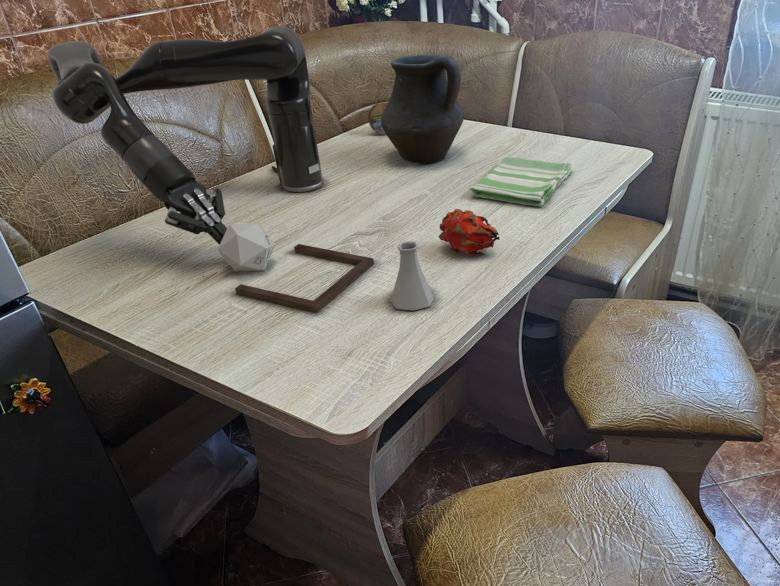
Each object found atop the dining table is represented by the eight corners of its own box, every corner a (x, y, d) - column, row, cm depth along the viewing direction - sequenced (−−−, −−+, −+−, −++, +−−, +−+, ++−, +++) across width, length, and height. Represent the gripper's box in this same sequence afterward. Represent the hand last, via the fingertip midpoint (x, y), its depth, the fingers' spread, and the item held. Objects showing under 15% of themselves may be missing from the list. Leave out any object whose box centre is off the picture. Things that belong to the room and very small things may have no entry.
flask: (390, 290, 107) (384, 236, 101) (433, 288, 107) (430, 234, 101) (390, 313, 101) (383, 257, 95) (435, 310, 101) (431, 254, 96)
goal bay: (236, 294, 107) (234, 288, 106) (299, 249, 120) (298, 243, 120) (317, 313, 102) (316, 306, 101) (374, 264, 115) (373, 258, 114)
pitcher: (420, 140, 173) (413, 41, 159) (485, 154, 163) (484, 49, 148) (368, 162, 160) (356, 55, 145) (436, 178, 149) (430, 65, 135)
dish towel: (573, 172, 150) (574, 161, 149) (543, 209, 133) (544, 196, 132) (503, 163, 156) (503, 152, 155) (466, 198, 139) (465, 186, 138)
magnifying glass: (372, 137, 177) (369, 105, 172) (368, 134, 179) (365, 103, 174) (421, 128, 183) (419, 98, 178) (416, 125, 185) (414, 95, 180)
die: (250, 287, 110) (274, 237, 108) (203, 261, 109) (227, 210, 107) (265, 280, 119) (288, 233, 116) (221, 256, 117) (244, 208, 115)
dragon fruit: (438, 250, 122) (495, 269, 119) (423, 241, 114) (483, 262, 111) (453, 208, 122) (510, 226, 118) (439, 196, 113) (500, 216, 110)
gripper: (179, 169, 118) (245, 239, 121) (122, 194, 109) (195, 269, 112) (193, 143, 114) (261, 217, 116) (134, 167, 104) (211, 247, 107)
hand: (229, 243), depth 114 cm, fingers closed
